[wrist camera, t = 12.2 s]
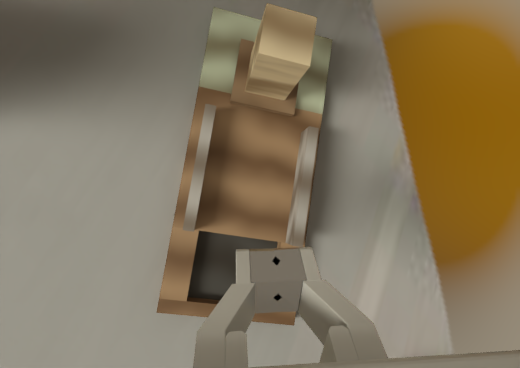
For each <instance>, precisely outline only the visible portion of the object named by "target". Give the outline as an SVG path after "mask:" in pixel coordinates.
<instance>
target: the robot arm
mask: <svg viewBox="0 0 520 368" xmlns="http://www.w3.org/2000/svg"><path fill="white" fill-rule="evenodd" d="M270 312H298V313H299V314H300V316H301V317H302V318H303V319H304V321H305V322H306V323H307V325H308V326H309V327H310V328H311V330H312V331H313V332H314V333H315V335H316V336H317V337H318V339H319V340H320V341H321V342H322V344H323V345H324V348H323V352H322V355H321V359H320V362H319V363H311V364H296V365H281V366H266V367H250V368H520V350H514V351H499V352H483V353H468V354H452V355H436V356H421V357H405V358H390V359H388V357H387V354H386V352H385V350H384V347H383V345H382V342H381V340H380V337H379V335H378V333H377V330H376V328H375V325H374V323H373V322H372V321H371V320H370V319H369V318H367V317H366V316H365V315H364V314H363V313H362V312H361V311H360V310H359V309H357V308H356V307H355V306H354V305H353V304H352V303H351V302H350V301H348V300H347V299H346V298H345V297H344V296H343V295H342V294H341V293H340V292H338V291H337V290H336V289H335V288H334V287H333V286H332V285H331V284H330V283H328V282H327V281H326V280H322V279H321V276H320V272H319V269H318V266H317V262H316V259H315V256H314V252H313V249H312V248H311V247H292V248H273V249H236V284H232V285H231V286H230V288H229V289H228V290H227V292H226V293H225V295H224V296H223V297H222V299H221V300H220V301H219V303H218V304H217V306H216V307H215V308H214V310H213V311H212V312H211V314H210V315H209V317H208V318H207V319H206V321H205V322H204V323H203V325H202V326H201V328H200V329H199V330H198V332H197V338H196V347H195V356H194V364H193V368H248V356H247V334H245V333H246V331H247V329H248V327H249V325H250V323H251V321H252V319H253V317H254V315H255V314H258V313H270Z"/></svg>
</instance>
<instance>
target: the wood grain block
mask: <svg viewBox="0 0 520 368" xmlns="http://www.w3.org/2000/svg"><path fill="white" fill-rule="evenodd" d="M316 22H317V17H313V16H310V15H306V14H303V13H299V12H296V11H292V10H289V9H285V8H282V7H278V6H275V5H272V4H268V3H267V4H266V7H265V11H264V14H263V17H262V20H261V23H260V27H259V30H258V33H257V36H256V39H255V42H253V41H249V40H245V39H241V42H240V47H239V53H238V59H237V65H236V71H235V76H234V82H233V88H232V94H231V100H230V103H233V104H237V105H242V106H246V107H251V108H255V109H260V110H264V111H269V112H273V113H278V114H282V115H287V116H291V117H292V116H293V115H294V112H295V106H296V99H297V92H298V85H299V80H300V79H301V78H302V76H303V75H304V74H305V72H306V71H307V70H308V68H309V67H310V64H311V57H312V50H313V43H314V36H315V29H316Z"/></svg>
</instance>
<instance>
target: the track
mask: <svg viewBox="0 0 520 368" xmlns="http://www.w3.org/2000/svg"><path fill="white" fill-rule="evenodd" d="M260 23H261V20H259V19H255V18H252V17H248V16H244V15H241V14H237V13H234V12H230V11H226V10H223V9H219V8H215V7H214V8H213V13H212V18H211V24H210V29H209V34H208V40H207V45H206V50H205V56H204V61H203V67H202V72H201V77H200V83H199V88H198V93H197V99H196V104H195V109H194V115H193V120H192V125H191V131H190V136H189V142H188V147H187V152H186V158H185V163H184V168H183V174H182V179H181V184H180V190H179V195H178V200H177V206H176V211H175V217H174V222H173V227H172V233H171V238H170V243H169V249H168V254H167V259H166V265H165V270H164V275H163V281H162V286H161V291H160V297H159V302H158V308H157V313H167V314H178V315H189V316H200V317H209V315H210V314H211V312H212V311H213V310H214V308H215V307H216V306H217V304H218V303H219V301H220V300H221V299H222V297H223V296H224V295H225V293H226V292H227V290H228V289H229V288H230V286H231V285H232V284H236V249H273V248H292V247H305V240H306V233H307V225H308V218H309V210H310V203H311V195H312V188H313V180H314V173H315V166H316V158H317V151H318V143H319V136H320V128H321V121H322V113H323V106H324V99H325V91H326V84H327V76H328V69H329V61H330V54H331V46H332V39H328V38H324V37H321V36H317V35H315V36H314V43H313V50H312V57H311V64H310V67H309V68H308V70H307V71H306V72H305V74H304V75H303V76H302V78H301V79H300V80H299V85H298V92H297V99H296V106H295V112H294V115H293V116H292V117H291V116H287V115H282V114H278V113H273V112H269V111H264V110H260V109H255V108H251V107H246V106H242V105H237V104H233V103H230V100H231V94H232V88H233V82H234V76H235V71H236V65H237V59H238V53H239V47H240V42H241V39H245V40H249V41H253V42H255V39H256V36H257V33H258V30H259V27H260ZM295 314H296V312H270V313H258V314H255V315H254V317H253V319H252V321H253V322H264V323H275V324H285V325H294V322H295Z"/></svg>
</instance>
